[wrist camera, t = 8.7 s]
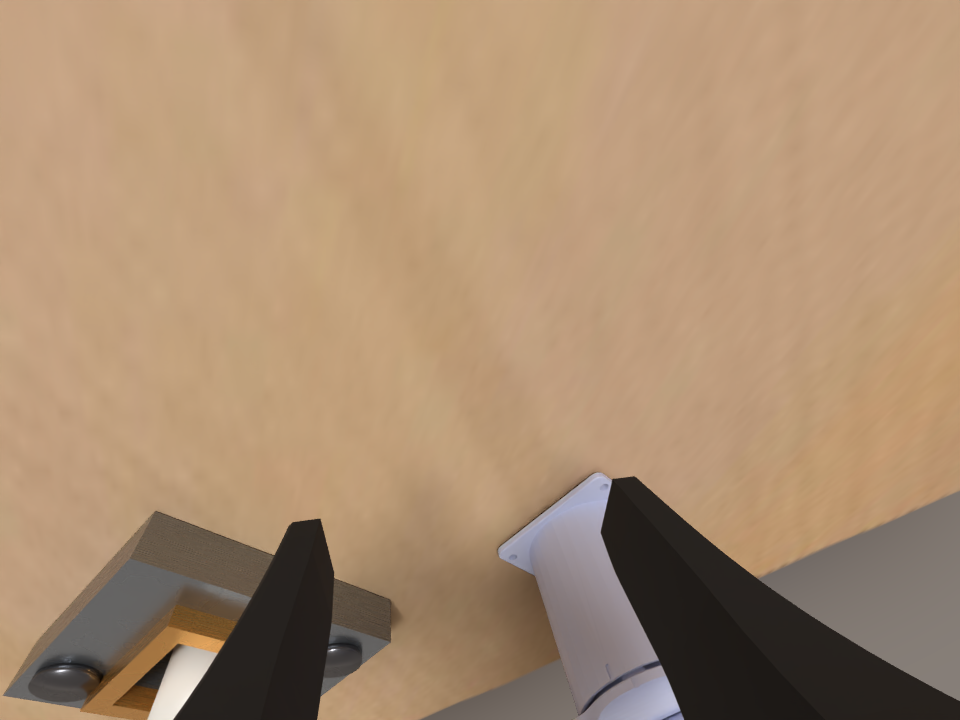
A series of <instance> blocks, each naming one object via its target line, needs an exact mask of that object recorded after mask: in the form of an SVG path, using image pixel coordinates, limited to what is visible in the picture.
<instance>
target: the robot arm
mask: <svg viewBox="0 0 960 720" xmlns="http://www.w3.org/2000/svg"><path fill="white" fill-rule="evenodd" d="M498 554H499V557H500V558H501V559H503V560H505V561H507V562H509V563H511V564H513V565H515V566H516V567H518V568H520V569H522V570H524V571H526V572H528V573H530V574H532V575H534V576H535V577H536V580H537V583H538V587H539V590H540V593H541V596H542V599H543V603H544V606H545V609H546V612H547V615H548V619H549V622H550V625H551V628H552V631H553V635H554V638H555V641H556V644H557V648H558V651H559V654H560V657H561V660H562V663H563V667H564V670H565V673H566V676H567V679H568V683H569V686H570V689H571V693H572V696H573V699H574V702H575V705H576V709H577V711H578V715H579V716H578V717H576V718H575V719H573V720H960V701H958V700H956V699H954V698H952V697H950V696H948V695H946V694H944V693H943V692H941V691H939V690H937V689H935V688H933V687H931V686H929V685H928V684H926V683H924V682H922V681H920V680H918V679H917V678H915V677H913V676H911V675H909V674H907V673H905V672H904V671H902V670H900V669H898V668H896V667H895V666H893V665H891V664H889V663H888V662H886V661H884V660H882V659H881V658H879V657H877V656H875V655H874V654H872V653H870V652H868V651H866V650H865V649H863V648H862V647H860V646H858V645H857V644H855V643H854V642H852V641H850V640H849V639H847V638H845V637H844V636H842V635H840V634H839V633H837V632H836V631H834V630H832V629H831V628H829V627H827V626H826V625H824V624H823V623H821V622H820V621H818V620H816V619H815V618H813V617H812V616H810V615H809V614H807V613H806V612H804V611H803V610H801V609H800V608H798V607H797V606H795V605H794V604H792V603H791V602H790V601H788V600H787V599H785V598H784V597H782V596H781V595H779V594H778V593H776V592H775V591H774V590H772V589H771V588H769V587H768V586H766V585H765V584H764V583H762V582H761V581H759V580H758V579H757V578H756V577H754V576H753V575H752V574H750V573H749V572H748V571H747V570H745V569H744V568H743V567H741V566H740V565H739V564H737V563H736V562H735V561H733V560H732V559H731V558H730V557H728V556H727V555H726V554H725V553H723V552H722V551H721V550H720V549H718V548H717V547H716V546H715V545H713V544H712V543H711V542H710V541H709V540H707V539H706V538H705V537H704V536H703V535H701V534H700V533H699V532H698V531H697V530H695V529H694V528H693V527H692V526H691V525H689V524H688V523H687V522H686V521H685V520H684V519H683V518H681V517H680V516H679V515H678V514H677V513H676V512H674V511H673V510H672V509H671V508H670V507H669V506H668V505H667V504H665V503H664V502H663V501H662V500H661V499H660V498H659V497H657V496H656V495H655V494H654V493H653V492H652V491H651V490H650V489H648V488H647V487H646V486H645V485H644V484H643V483H642V482H640V481H639V480H638V479H637V478H636V477H635V476H633V477H626V478H618V479H612V480H611V479H610V478H608V477H607V476H606V475H605V474H603V473H594V474H592V475H591V476H590V477H588V478H587V479H586V480H585V481H583V482H582V483H581V484H579V485H578V486H577V487H576V488H574V489H573V490H572V491H570V492H569V493H568V494H567V495H565V496H564V497H563V498H562V499H560V500H559V501H558V502H556V503H555V504H554V505H553V506H551V507H550V508H549V509H547V510H546V511H545V512H544V513H542V514H541V515H540V516H539V517H537V518H536V519H535V520H533V521H532V522H531V523H530V524H528V525H527V526H526V527H524V528H523V529H522V530H521V531H519V532H518V533H517V534H515V535H514V536H513V537H512V538H510V539H509V540H508V541H507V542H505V543H504V544H503V545H501V546H500V547H499V548H498ZM333 591H334V570H333V567H332V563H331V559H330V555H329V551H328V547H327V543H326V539H325V535H324V531H323V527H322V523H321V519H314V520H306V521H299V522H293V523H292V524H291V525H290V526H289V527H288V529H287V531H286V533H285V535H284V537H283V539H282V541H281V543H280V545H279V548H278V550H277V552H276V554H275V555H274V557H273V559H272V561H271V563H270V565H269V567H268V569H267V571H266V573H265V574H264V576H263V578H262V580H261V582H260V584H259V586H258V587H257V589H256V591H255V592H254V594H253V596H252V598H251V599H250V601H249V603H248V605H247V606H246V608H245V610H244V612H243V613H242V615H241V617H240V619H239V620H238V622H237V624H236V625H235V627H234V629H233V630H232V632H231V633H230V635H229V637H228V638H227V640H226V641H225V643H224V644H223V646H222V648H221V649H220V651H219V652H218V654H217V655H216V657H215V659H214V660H213V662H212V663H211V665H210V667H209V668H208V670H207V671H206V673H205V674H204V676H203V677H202V679H201V680H200V682H199V683H198V685H197V686H196V688H195V689H194V691H193V692H192V693H191V695H190V696H189V698H188V699H187V701H186V702H185V704H184V705H183V706H182V708H181V709H180V711H179V712H178V713H177V715H176V716H175V718H174V719H173V720H317V716H318V710H319V703H320V697H321V690H322V684H323V677H324V671H325V664H326V657H327V651H328V644H329V637H330V630H331V623H332V611H333Z"/></svg>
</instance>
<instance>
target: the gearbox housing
mask: <svg viewBox="0 0 960 720" xmlns="http://www.w3.org/2000/svg"><path fill="white" fill-rule="evenodd" d="M273 557H274V556H273V555H270V554H267V553H265V552H262V551H259V550H257V549H254V548H251V547H249V546H246V545H244V544H241V543H238V542H236V541H233V540H230V539H228V538H225V537H222V536H220V535H217V534H214V533H212V532H209V531H207V530H204V529H201V528H199V527H196V526H193V525H191V524H188V523H185V522H183V521H180V520H177V519H175V518H172V517H169V516H167V515H164V514H162V513H159V512H156V511H155V512H154V513H153V514H152V515H151V517H150V518H149V519H148V520H147V521H146V522H145V523H144V524H143V525H142V526H141V528H140V529H139V530H138V531H137V532H136V533H135V534H134V535H133V536H132V537H131V539H130V540H129V541H128V542H127V543H126V544H125V545H124V546H123V547H122V548H121V550H120V551H119V552H118V553H117V554H116V555H115V556H114V557H113V558H112V560H111V561H110V562H109V563H108V564H107V565H106V566H105V567H104V568H103V569H102V571H101V572H100V573H99V574H98V575H97V576H96V577H95V578H94V579H93V580H92V582H91V583H90V584H89V585H88V586H87V587H86V588H85V589H84V590H83V591H82V593H81V594H80V595H79V596H78V597H77V598H76V599H75V600H74V601H73V602H72V604H71V605H70V606H69V607H68V608H67V609H66V610H65V611H64V612H63V613H62V615H61V616H60V617H59V618H58V619H57V620H56V621H55V622H54V623H53V624H52V626H51V627H50V628H49V629H48V630H47V631H46V632H45V633H44V634H43V636H42V637H41V638H40V639H39V640H38V641H37V642H36V644H35V645H34V647H33V648H32V650H31V652H30V653H29V655H28V656H27V658H26V660H25V661H24V663H23V664H22V666H21V668H20V669H19V671H18V672H17V674H16V675H15V677H14V679H13V680H12V682H11V683H10V685H9V687H8V688H7V690H6V691H5V693H4V695H3V696H8V697H14V698H20V699H27V700H33V701H39V702H45V703H51V704H57V705H64V706H70V707H76V708H81V710H80V711H81V712H87V713H94V714H100V715H106V716H113V717H119V718H125V719H131V720H147V719H148V716H149V714H150V711H151V709H152V706H153V703H154V701H155V698H156V695H157V693H158V690H159V687H160V685H161V682H162V679H163V677H164V674H165V671H166V669H167V666H168V663H169V661H170V658H171V655H172V653H173V650H174V647H175V646H176V645H177V644H182V645H186V646H190V647H194V648H198V649H203V650H207V651H211V652H215V653H218V652H219V651H220V649H221V648H222V646H223V644H224V643H225V641H226V640H227V638H228V637H229V635H230V633H231V632H232V630H233V629H234V627H235V625H236V624H237V622H238V620H239V619H240V617H241V615H242V613H243V612H244V610H245V608H246V606H247V605H248V603H249V601H250V599H251V598H252V596H253V594H254V592H255V591H256V589H257V587H258V586H259V584H260V582H261V580H262V578H263V576H264V574H265V573H266V571H267V569H268V567H269V565H270V563H271V561H272V559H273ZM390 642H391V621H390V600H389V599H386V598H384V597H381V596H378V595H376V594H373V593H370V592H368V591H365V590H362V589H360V588H357V587H355V586H352V585H349V584H347V583H344V582H341V581H339V580H336V579H334V591H333V611H332V623H331V630H330V637H329V644H328V651H327V657H326V664H325V671H324V677H323V684H322V690H321V696H322V695H323V694H324V693H326V692H327V691H328V690H330V689H331V688H332V687H333V686H335V685H336V684H337V683H339V682H340V681H341V680H343V679H344V678H345V677H346V676H348V675H349V674H351V673H353V672H354V671H356V670H357V669H358V668H359V667H360V666H361V665H362V664H363V663H365V662H366V661H367V660H368V659H370V658H371V657H372V656H374V655H375V654H376V653H377V652H379V651H380V650H381V649H383V648H384V647H385V646H387V645H388V644H389V643H390Z"/></svg>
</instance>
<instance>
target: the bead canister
mask: <svg viewBox="0 0 960 720" xmlns="http://www.w3.org/2000/svg"><path fill="white" fill-rule="evenodd" d="M217 654H218V653H215V652H211V651H207V650H203V649H198V648H194V647H190V646H186V645H182V644H177V645H176V646H175V647H174V650H173V653H172V655H171V658H170V661H169V663H168V666H167V669H166V671H165V674H164V677H163V679H162V682H161V685H160V687H159V690H158V693H157V695H156V698H155V701H154V703H153V706H152V709H151V711H150V714H149V716H148V719H147V720H173V719H174V718H175V716H176V715H177V713H178V712H179V711H180V709H181V708H182V706H183V705H184V704H185V702H186V701H187V699H188V698H189V696H190V695H191V693H192V692H193V691H194V689H195V688H196V686H197V685H198V683H199V682H200V680H201V679H202V677H203V676H204V674H205V673H206V671H207V670H208V668H209V667H210V665H211V663H212V662H213V660H214V659H215V657H216V655H217Z"/></svg>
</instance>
